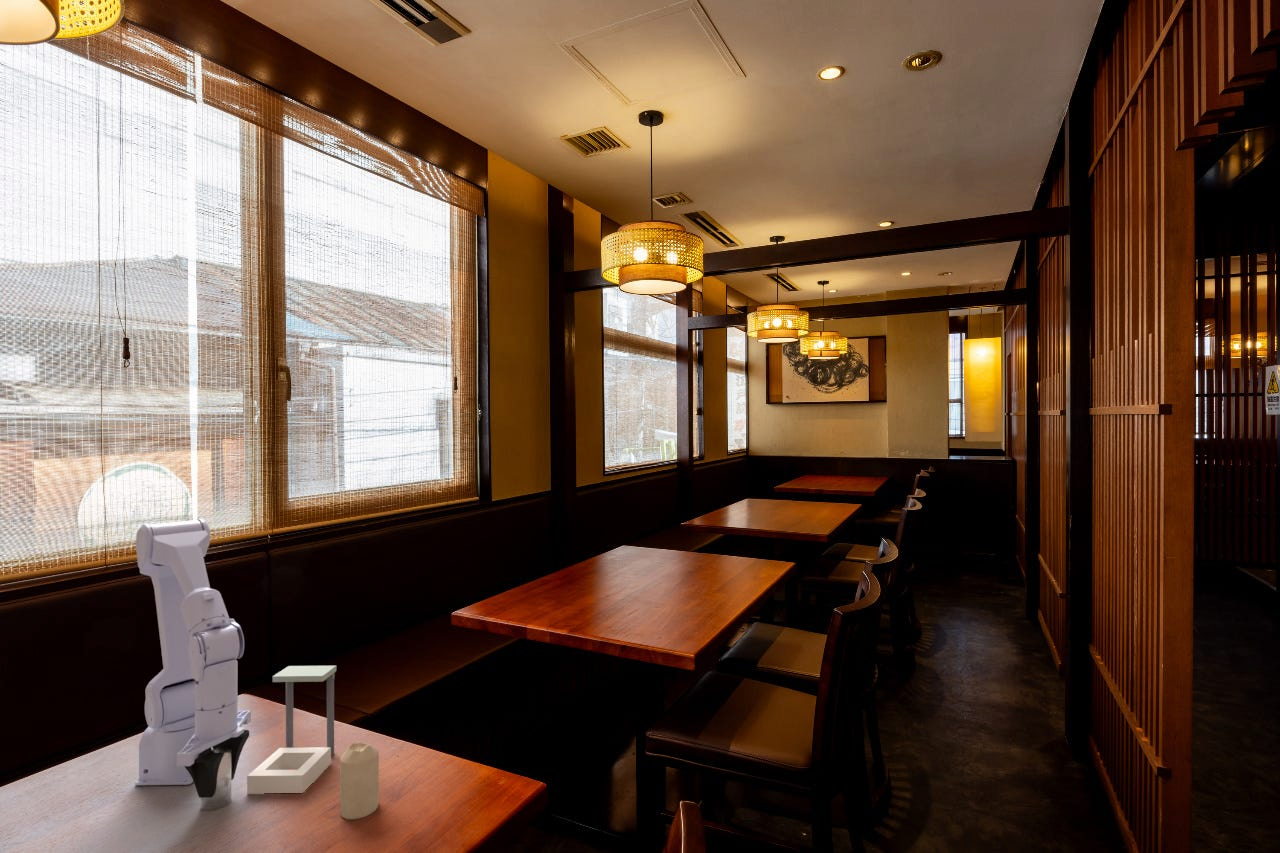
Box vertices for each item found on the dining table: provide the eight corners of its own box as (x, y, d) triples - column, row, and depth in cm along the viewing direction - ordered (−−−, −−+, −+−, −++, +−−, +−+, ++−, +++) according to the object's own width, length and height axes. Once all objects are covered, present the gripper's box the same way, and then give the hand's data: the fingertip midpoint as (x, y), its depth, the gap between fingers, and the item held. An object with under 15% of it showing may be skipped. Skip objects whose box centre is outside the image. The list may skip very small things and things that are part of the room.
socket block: (247, 794, 102) (247, 775, 102) (279, 764, 111) (279, 747, 111) (302, 793, 102) (302, 775, 102) (330, 764, 111) (330, 747, 111)
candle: (385, 799, 100) (385, 737, 100) (367, 821, 95) (366, 755, 95) (353, 798, 101) (352, 736, 101) (333, 819, 95) (332, 753, 95)
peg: (195, 810, 98) (195, 759, 98) (212, 796, 102) (212, 747, 102) (220, 810, 98) (220, 759, 98) (237, 795, 102) (236, 746, 102)
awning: (272, 766, 111) (272, 676, 111) (288, 752, 116) (288, 666, 116) (323, 765, 111) (322, 675, 111) (336, 751, 116) (336, 665, 116)
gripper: (209, 723, 93) (210, 815, 92) (268, 684, 107) (268, 763, 107) (162, 724, 93) (162, 815, 92) (227, 685, 107) (227, 764, 107)
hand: (216, 788), depth 100 cm, fingers closed on peg, 4 cm apart
